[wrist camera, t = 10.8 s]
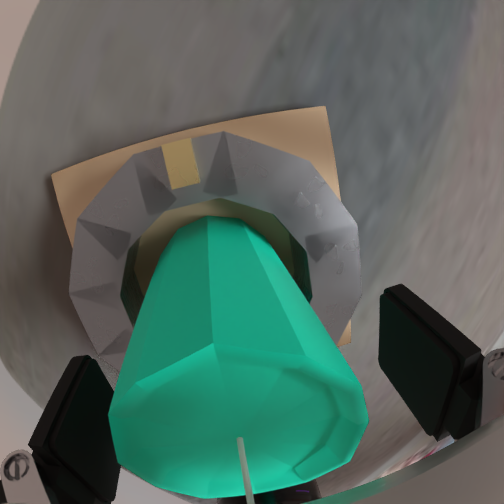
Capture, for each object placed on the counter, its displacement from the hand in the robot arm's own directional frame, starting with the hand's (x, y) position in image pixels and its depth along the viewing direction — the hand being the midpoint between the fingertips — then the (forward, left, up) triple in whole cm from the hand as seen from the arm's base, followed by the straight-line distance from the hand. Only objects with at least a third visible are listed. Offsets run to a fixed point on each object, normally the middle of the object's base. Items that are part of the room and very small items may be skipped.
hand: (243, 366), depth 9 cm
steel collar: (0, +1, -8) cm, 8 cm away
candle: (0, 0, -7) cm, 7 cm away
